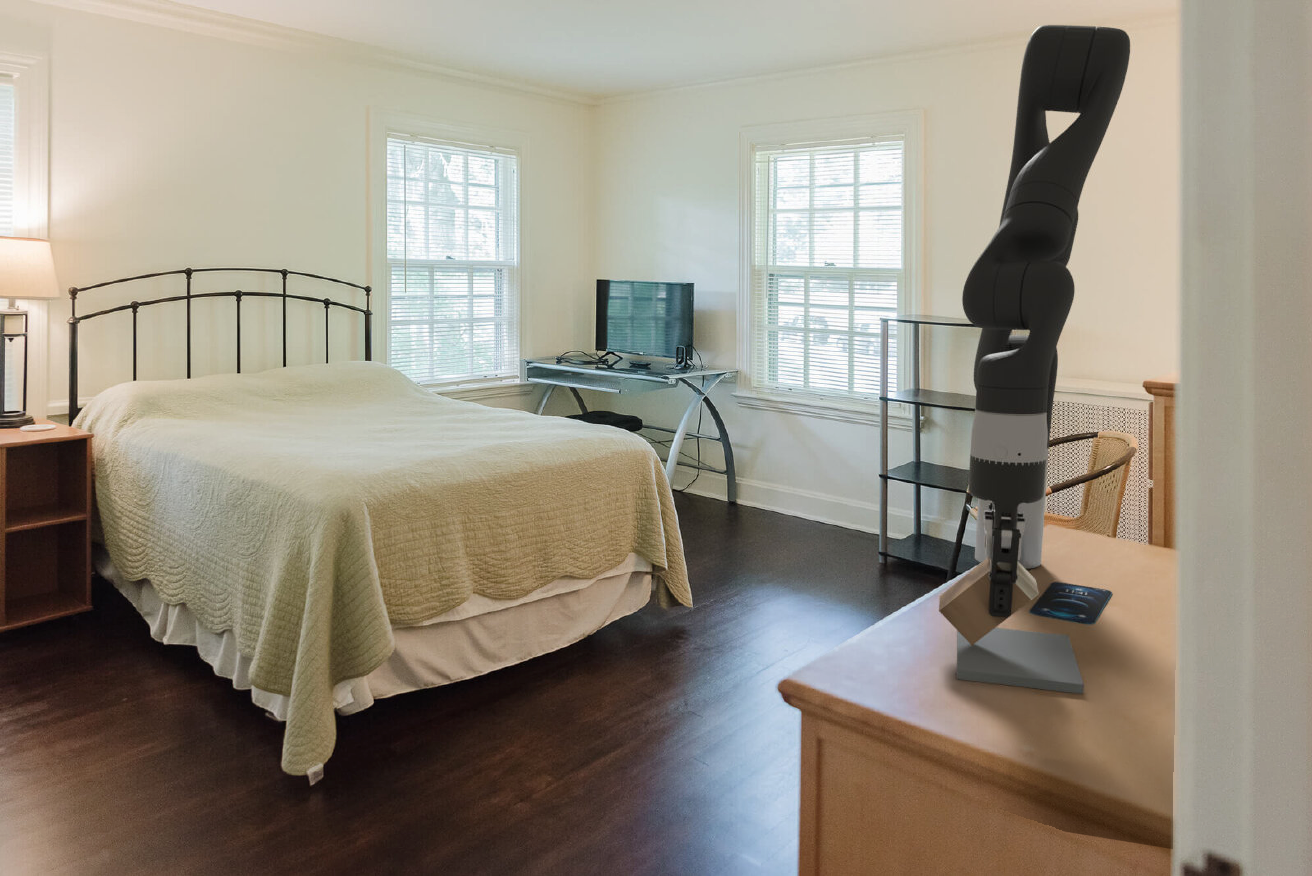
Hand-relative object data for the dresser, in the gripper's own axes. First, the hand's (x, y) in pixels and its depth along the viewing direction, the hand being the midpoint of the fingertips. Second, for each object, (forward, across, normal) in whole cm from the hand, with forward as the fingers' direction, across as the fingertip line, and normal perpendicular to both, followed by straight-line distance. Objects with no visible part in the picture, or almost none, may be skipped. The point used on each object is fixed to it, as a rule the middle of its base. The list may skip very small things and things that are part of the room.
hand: (998, 606), depth 101 cm
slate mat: (+6, 0, -2) cm, 6 cm away
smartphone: (+7, +22, -10) cm, 25 cm away
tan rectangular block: (+2, 0, +4) cm, 5 cm away
